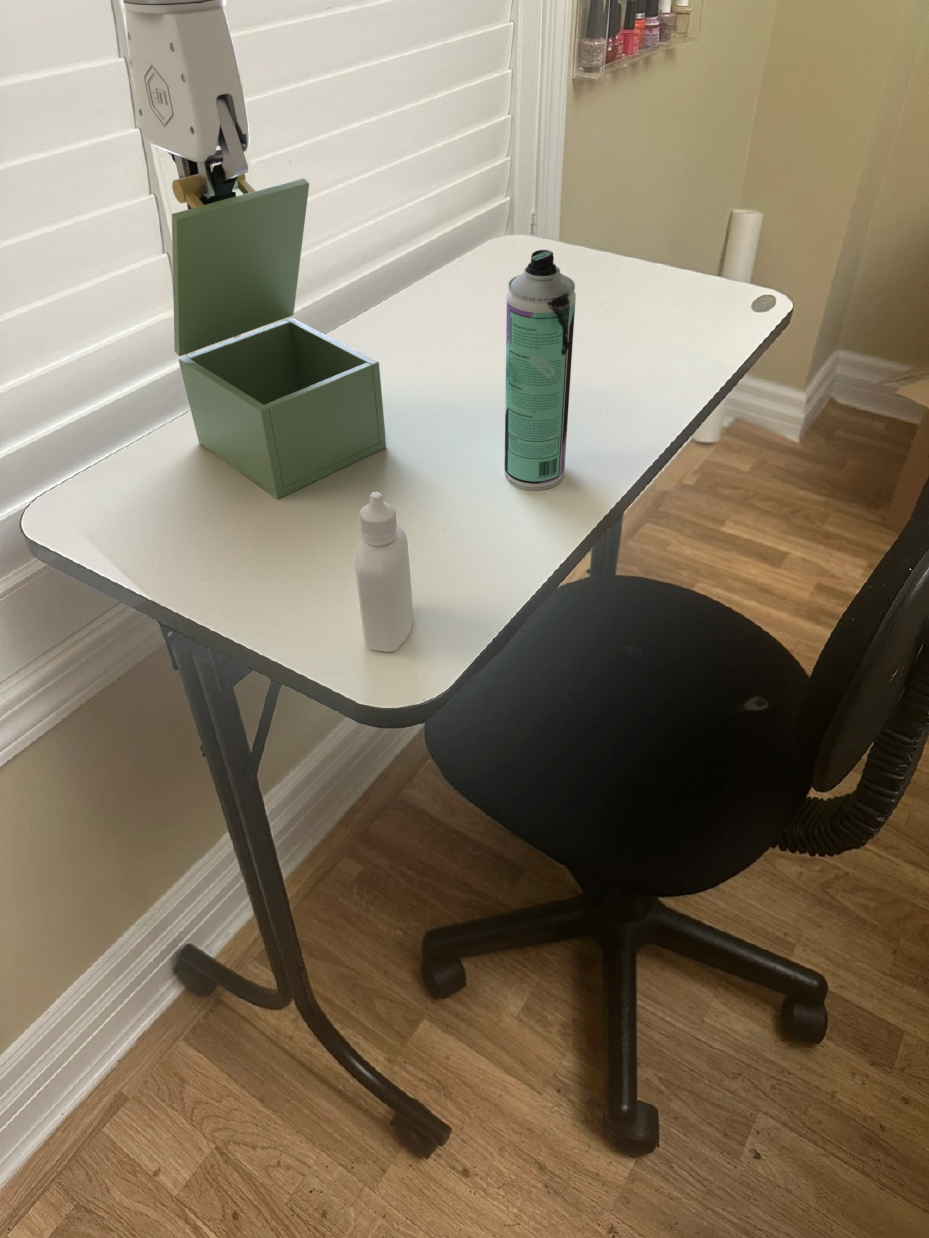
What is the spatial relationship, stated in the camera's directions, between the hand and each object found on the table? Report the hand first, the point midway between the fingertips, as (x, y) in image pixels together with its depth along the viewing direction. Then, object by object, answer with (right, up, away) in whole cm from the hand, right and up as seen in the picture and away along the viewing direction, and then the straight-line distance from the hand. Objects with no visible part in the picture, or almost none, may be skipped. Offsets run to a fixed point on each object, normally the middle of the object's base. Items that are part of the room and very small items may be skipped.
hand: (218, 237), depth 79 cm
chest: (+5, -17, +9) cm, 19 cm away
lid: (+2, -3, 0) cm, 4 cm away
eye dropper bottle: (+16, -34, -11) cm, 39 cm away
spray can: (+28, -20, +4) cm, 35 cm away
